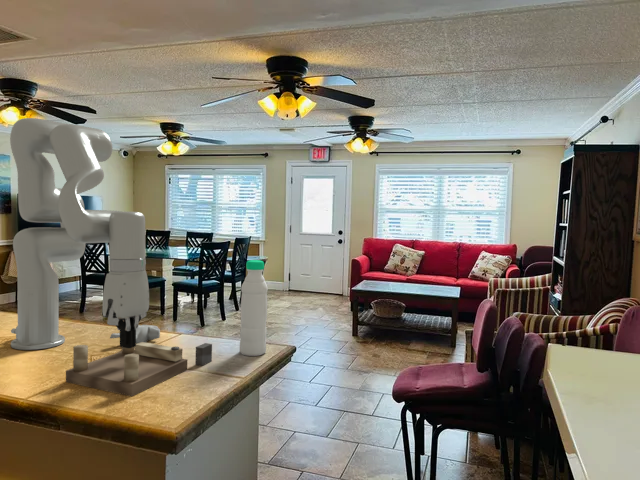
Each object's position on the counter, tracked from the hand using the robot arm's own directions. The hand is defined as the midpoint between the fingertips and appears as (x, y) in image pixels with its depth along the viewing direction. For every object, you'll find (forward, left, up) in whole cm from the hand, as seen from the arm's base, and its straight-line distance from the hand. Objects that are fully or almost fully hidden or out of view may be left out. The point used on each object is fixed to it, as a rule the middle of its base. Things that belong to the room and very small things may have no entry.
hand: (127, 346), depth 107 cm
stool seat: (+2, +4, -6) cm, 8 cm away
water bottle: (+17, +28, -7) cm, 33 cm away
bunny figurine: (-16, +21, -7) cm, 28 cm away
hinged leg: (+3, +7, -4) cm, 8 cm away
